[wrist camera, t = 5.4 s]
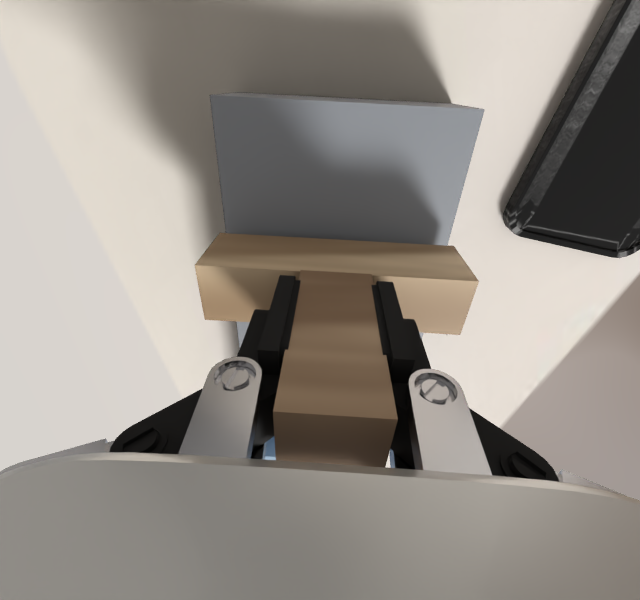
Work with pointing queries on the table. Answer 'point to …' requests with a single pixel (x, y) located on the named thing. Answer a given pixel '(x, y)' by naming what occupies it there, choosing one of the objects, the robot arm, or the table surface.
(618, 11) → the phone
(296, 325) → the scraper
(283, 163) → the gray rectangular block
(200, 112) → the table surface
